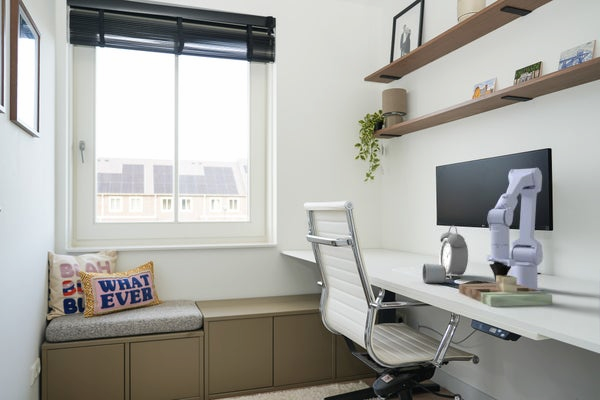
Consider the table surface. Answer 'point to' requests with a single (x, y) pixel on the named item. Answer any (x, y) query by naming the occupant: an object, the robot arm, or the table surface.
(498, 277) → the birch block
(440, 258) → the alarm clock
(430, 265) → the ceramic mug
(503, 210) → the robot arm
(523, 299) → the trap deck
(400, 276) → the table surface
